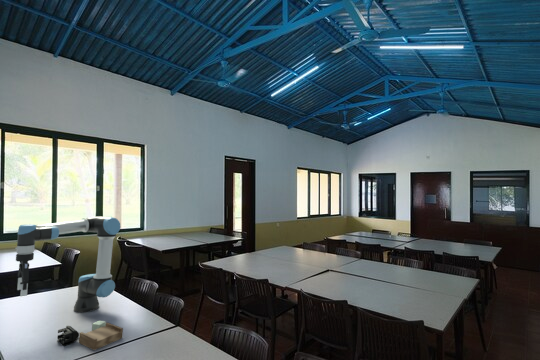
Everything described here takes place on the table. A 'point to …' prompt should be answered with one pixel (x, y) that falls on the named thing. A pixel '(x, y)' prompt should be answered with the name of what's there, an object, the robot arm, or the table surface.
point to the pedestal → (101, 336)
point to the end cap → (67, 336)
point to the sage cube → (98, 325)
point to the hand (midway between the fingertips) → (22, 292)
